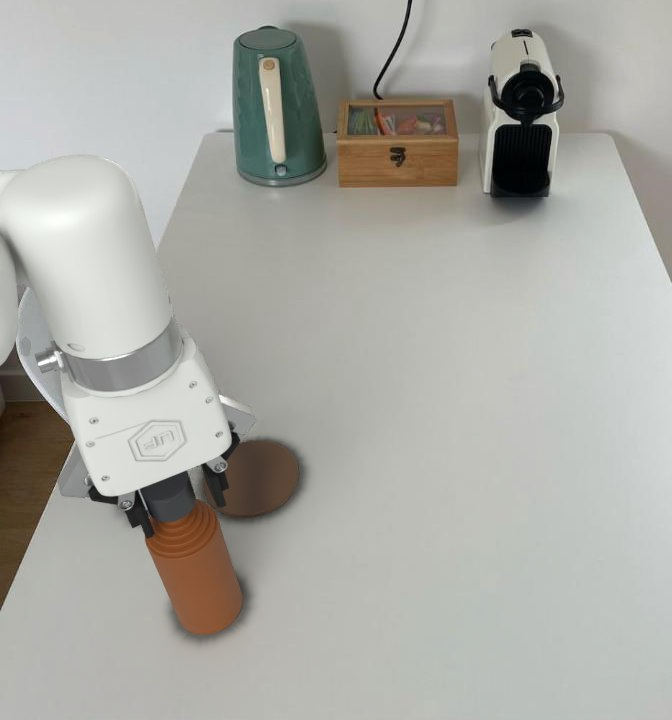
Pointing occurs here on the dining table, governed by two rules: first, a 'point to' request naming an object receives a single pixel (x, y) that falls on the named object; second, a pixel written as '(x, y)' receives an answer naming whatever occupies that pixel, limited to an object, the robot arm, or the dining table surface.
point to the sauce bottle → (196, 570)
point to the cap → (170, 498)
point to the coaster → (257, 479)
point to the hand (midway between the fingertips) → (181, 508)
